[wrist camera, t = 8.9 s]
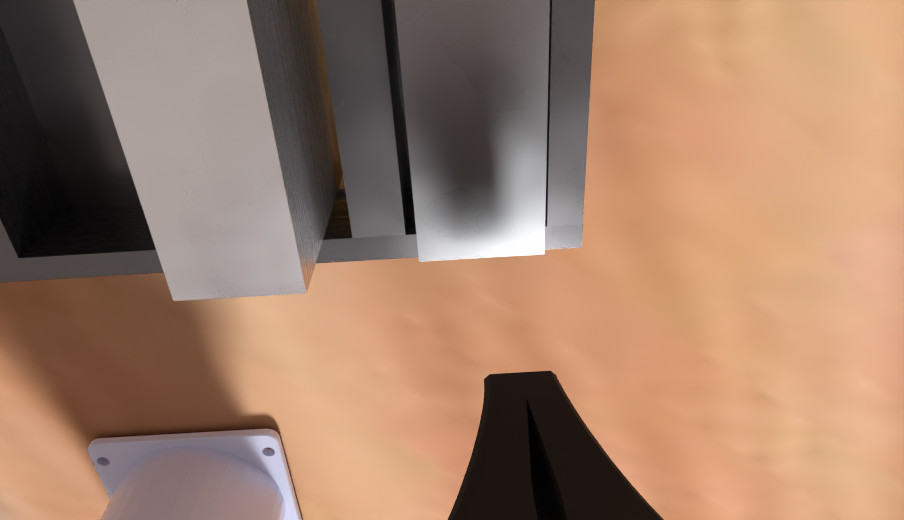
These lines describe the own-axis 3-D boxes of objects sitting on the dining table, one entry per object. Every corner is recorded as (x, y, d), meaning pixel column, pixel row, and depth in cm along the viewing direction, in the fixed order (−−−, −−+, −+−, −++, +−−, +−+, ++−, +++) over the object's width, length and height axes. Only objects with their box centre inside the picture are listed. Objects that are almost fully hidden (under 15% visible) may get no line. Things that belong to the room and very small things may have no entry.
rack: (558, 189, 22) (603, 302, 16) (62, 219, 22) (-71, 342, 16) (570, -216, 16) (648, -270, 10) (-97, -172, 16) (-391, -202, 11)
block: (343, 171, 20) (306, 293, 14) (249, 177, 21) (173, 301, 14) (299, -120, 16) (221, -121, 10) (182, -113, 16) (37, -109, 10)
